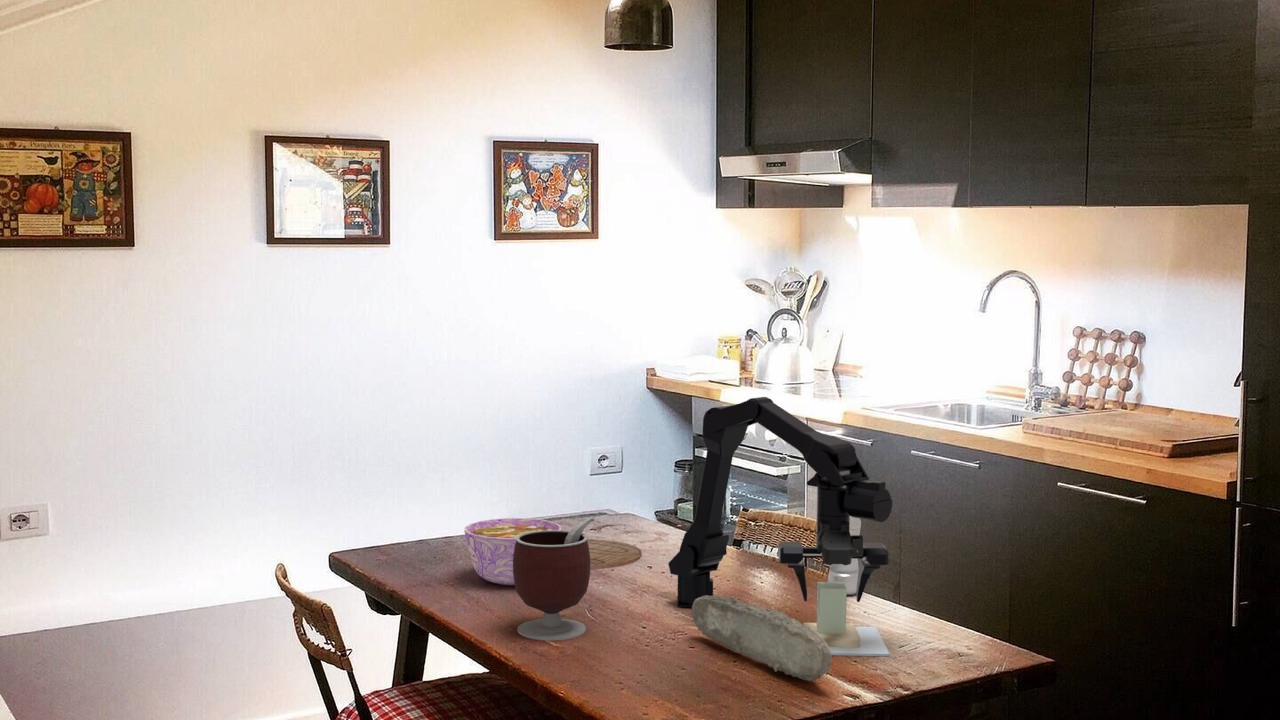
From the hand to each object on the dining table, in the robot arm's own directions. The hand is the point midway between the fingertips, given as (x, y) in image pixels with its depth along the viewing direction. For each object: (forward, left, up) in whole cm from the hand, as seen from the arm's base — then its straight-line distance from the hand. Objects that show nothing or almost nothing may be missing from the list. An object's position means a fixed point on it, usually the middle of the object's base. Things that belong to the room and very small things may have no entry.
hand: (831, 601), depth 228 cm
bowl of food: (-61, +37, -7) cm, 72 cm away
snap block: (0, 0, -5) cm, 5 cm away
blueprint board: (0, 0, -7) cm, 7 cm away
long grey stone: (-13, -13, -8) cm, 20 cm away
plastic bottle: (+6, +32, -7) cm, 33 cm away
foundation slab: (0, 0, -7) cm, 7 cm away
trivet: (-48, +59, -8) cm, 76 cm away
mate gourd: (-49, +4, -7) cm, 50 cm away
